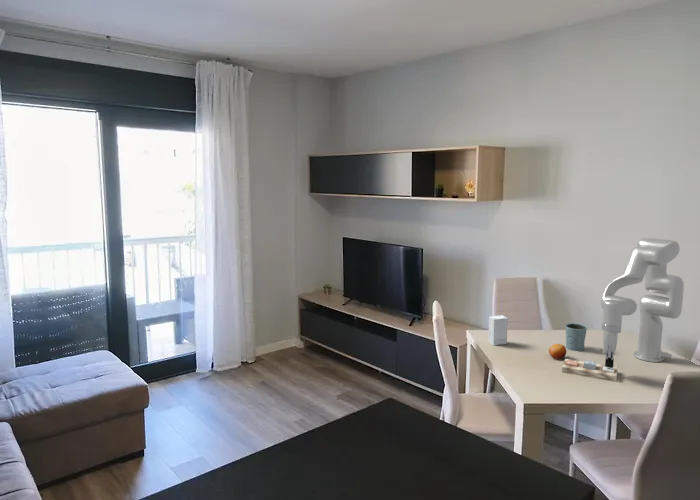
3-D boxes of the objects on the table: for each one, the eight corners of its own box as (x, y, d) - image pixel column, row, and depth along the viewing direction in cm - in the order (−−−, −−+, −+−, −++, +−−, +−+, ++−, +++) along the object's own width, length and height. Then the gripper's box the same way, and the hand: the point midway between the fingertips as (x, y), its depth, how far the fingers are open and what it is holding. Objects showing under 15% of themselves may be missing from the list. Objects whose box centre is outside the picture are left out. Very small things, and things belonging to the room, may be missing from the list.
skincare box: (501, 341, 267) (502, 314, 265) (507, 344, 261) (508, 317, 259) (487, 342, 265) (488, 315, 263) (493, 345, 260) (494, 318, 258)
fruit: (571, 358, 237) (563, 344, 236) (556, 365, 238) (548, 351, 238) (568, 352, 244) (560, 339, 244) (553, 359, 246) (545, 346, 246)
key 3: (577, 366, 228) (578, 361, 227) (576, 370, 224) (576, 364, 224) (567, 365, 230) (567, 359, 230) (565, 368, 226) (566, 362, 226)
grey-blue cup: (581, 345, 259) (582, 323, 258) (588, 352, 250) (590, 329, 248) (561, 344, 260) (562, 323, 259) (568, 351, 250) (569, 328, 249)
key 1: (614, 373, 220) (614, 367, 220) (613, 376, 216) (614, 371, 216) (602, 371, 223) (603, 365, 222) (602, 374, 219) (602, 369, 218)
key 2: (595, 366, 224) (596, 361, 223) (595, 370, 220) (595, 364, 220) (584, 364, 226) (585, 359, 226) (583, 368, 222) (584, 362, 222)
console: (617, 372, 223) (617, 367, 223) (616, 381, 213) (616, 376, 212) (565, 363, 234) (565, 358, 234) (561, 371, 224) (562, 366, 223)
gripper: (603, 321, 225) (600, 359, 228) (600, 331, 212) (598, 371, 215) (621, 324, 221) (619, 362, 224) (620, 333, 208) (617, 374, 211)
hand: (609, 366), depth 219 cm, fingers closed
